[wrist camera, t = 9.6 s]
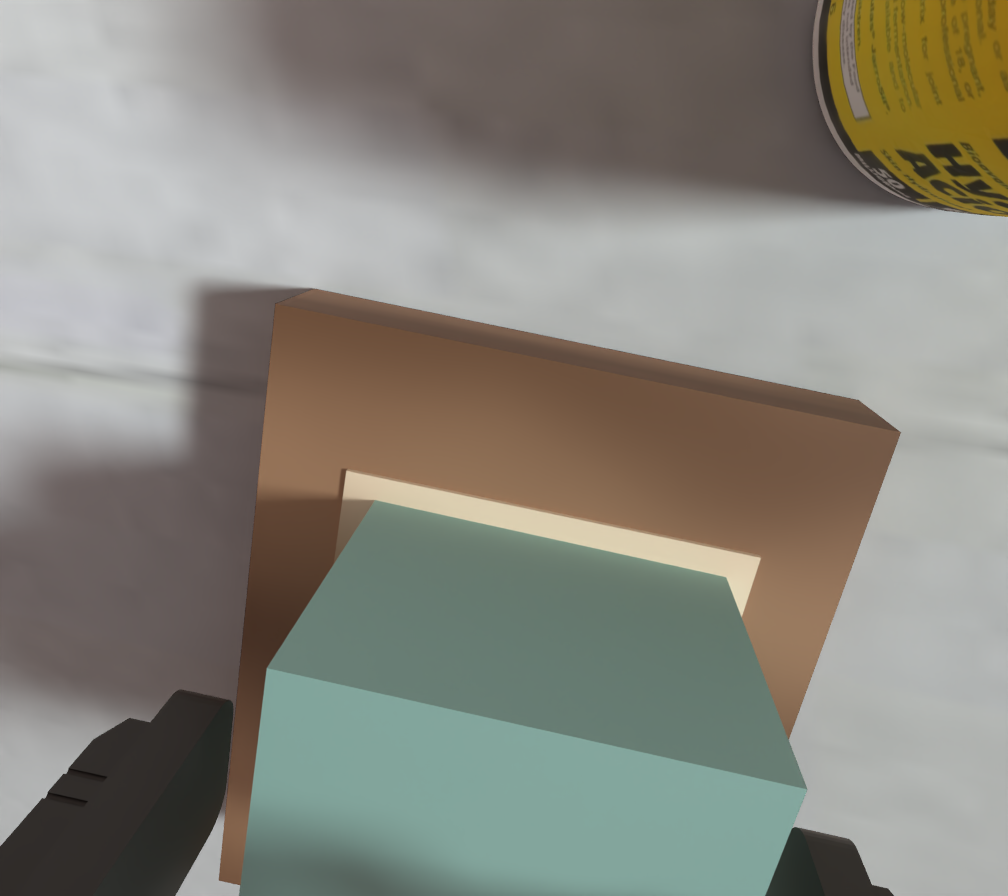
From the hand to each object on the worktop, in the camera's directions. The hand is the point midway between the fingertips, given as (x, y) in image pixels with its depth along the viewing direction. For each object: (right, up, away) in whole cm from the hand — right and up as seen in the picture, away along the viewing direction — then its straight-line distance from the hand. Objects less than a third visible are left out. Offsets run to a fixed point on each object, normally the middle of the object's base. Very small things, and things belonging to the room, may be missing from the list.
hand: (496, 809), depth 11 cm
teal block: (0, +1, +3) cm, 3 cm away
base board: (0, +1, +5) cm, 5 cm away
